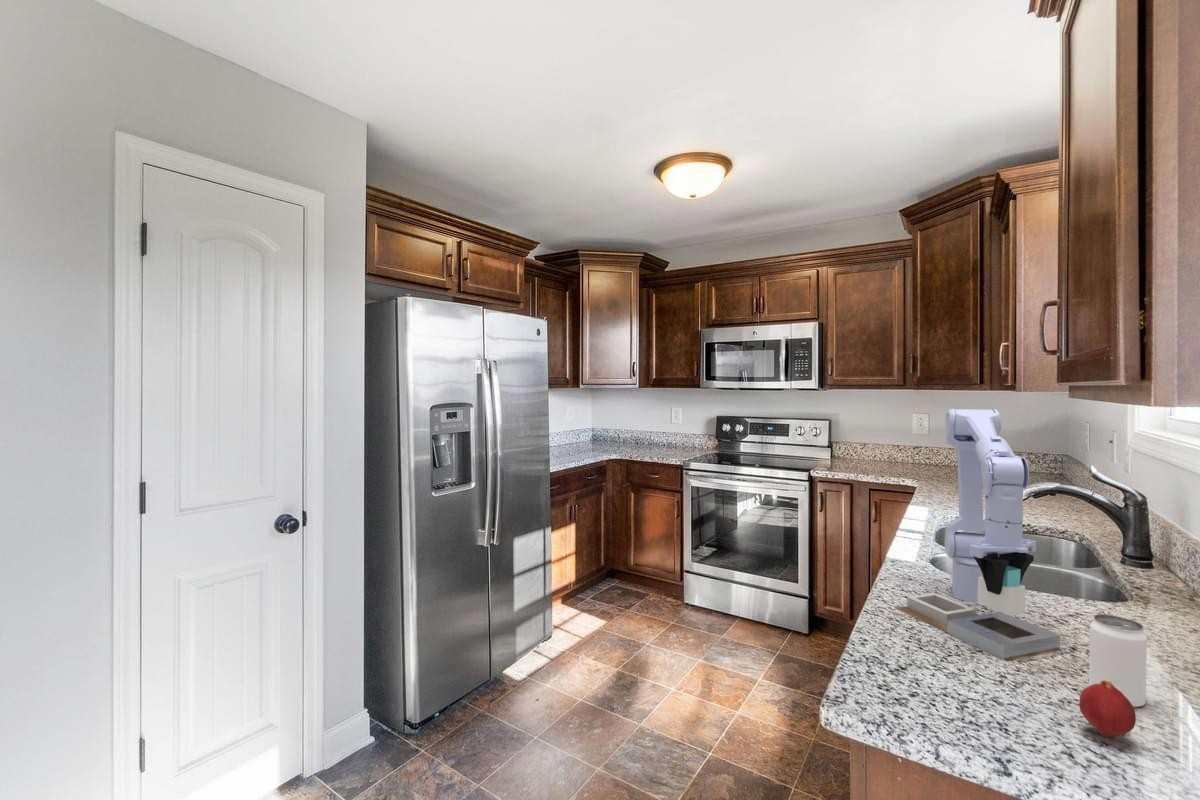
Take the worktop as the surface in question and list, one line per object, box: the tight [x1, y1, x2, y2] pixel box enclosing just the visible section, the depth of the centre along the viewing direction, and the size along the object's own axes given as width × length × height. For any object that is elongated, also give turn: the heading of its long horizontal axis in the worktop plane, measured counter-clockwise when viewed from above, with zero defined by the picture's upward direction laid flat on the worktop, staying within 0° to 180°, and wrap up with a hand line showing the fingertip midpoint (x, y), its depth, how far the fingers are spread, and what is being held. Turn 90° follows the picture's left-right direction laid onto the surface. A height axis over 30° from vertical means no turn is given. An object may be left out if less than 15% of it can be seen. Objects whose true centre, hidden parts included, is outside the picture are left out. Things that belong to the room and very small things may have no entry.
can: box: [1088, 613, 1148, 709], centre depth 85 cm, size 6×6×12 cm
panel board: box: [895, 605, 1063, 667], centre depth 108 cm, size 14×24×1 cm, turn 17°
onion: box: [1078, 680, 1137, 738], centre depth 75 cm, size 6×6×8 cm
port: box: [946, 611, 1061, 661], centre depth 102 cm, size 14×11×2 cm
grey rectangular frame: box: [906, 592, 977, 625], centre depth 114 cm, size 8×10×2 cm
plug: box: [977, 565, 1026, 616], centre depth 102 cm, size 4×6×8 cm, turn 17°
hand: (1002, 591), depth 102 cm, fingers closed on plug, 4 cm apart
